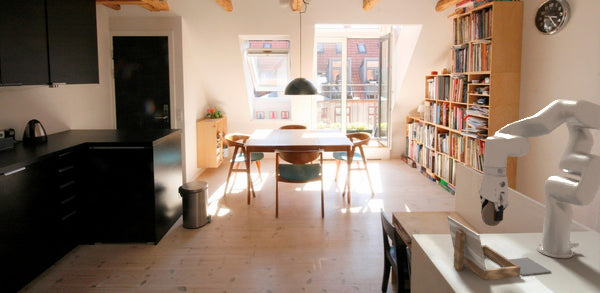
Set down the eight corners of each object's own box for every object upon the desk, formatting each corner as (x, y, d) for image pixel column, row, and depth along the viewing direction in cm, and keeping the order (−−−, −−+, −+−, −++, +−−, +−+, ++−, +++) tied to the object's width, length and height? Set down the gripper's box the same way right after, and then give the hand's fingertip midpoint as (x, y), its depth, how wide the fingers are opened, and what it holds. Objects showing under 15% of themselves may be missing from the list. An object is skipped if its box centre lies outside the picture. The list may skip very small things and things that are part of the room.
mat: (527, 258, 165) (527, 257, 165) (551, 272, 154) (551, 271, 154) (500, 261, 163) (500, 260, 163) (522, 275, 151) (522, 274, 151)
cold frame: (485, 253, 171) (488, 212, 168) (519, 276, 151) (523, 230, 148) (441, 257, 167) (444, 216, 164) (471, 281, 148) (474, 235, 145)
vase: (503, 228, 153) (505, 204, 151) (483, 227, 154) (484, 204, 153) (498, 221, 159) (500, 199, 158) (479, 220, 161) (480, 198, 159)
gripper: (520, 175, 145) (516, 224, 149) (489, 164, 162) (486, 209, 165) (501, 176, 144) (497, 226, 147) (471, 166, 161) (469, 210, 164)
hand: (491, 216), depth 156 cm, fingers closed on vase, 6 cm apart
